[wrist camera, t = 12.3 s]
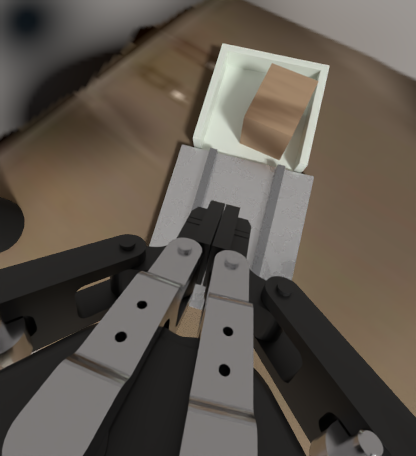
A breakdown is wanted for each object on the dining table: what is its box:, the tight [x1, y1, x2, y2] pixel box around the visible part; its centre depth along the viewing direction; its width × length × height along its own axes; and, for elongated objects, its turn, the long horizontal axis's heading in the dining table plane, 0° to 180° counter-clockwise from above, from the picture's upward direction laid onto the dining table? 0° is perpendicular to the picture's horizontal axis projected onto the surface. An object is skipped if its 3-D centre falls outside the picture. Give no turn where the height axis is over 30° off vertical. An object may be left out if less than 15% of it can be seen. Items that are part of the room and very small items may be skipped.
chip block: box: [240, 63, 319, 160], centre depth 33 cm, size 6×6×8 cm
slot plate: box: [149, 145, 314, 310], centre depth 33 cm, size 20×18×2 cm
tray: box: [193, 44, 329, 173], centre depth 36 cm, size 15×15×3 cm
